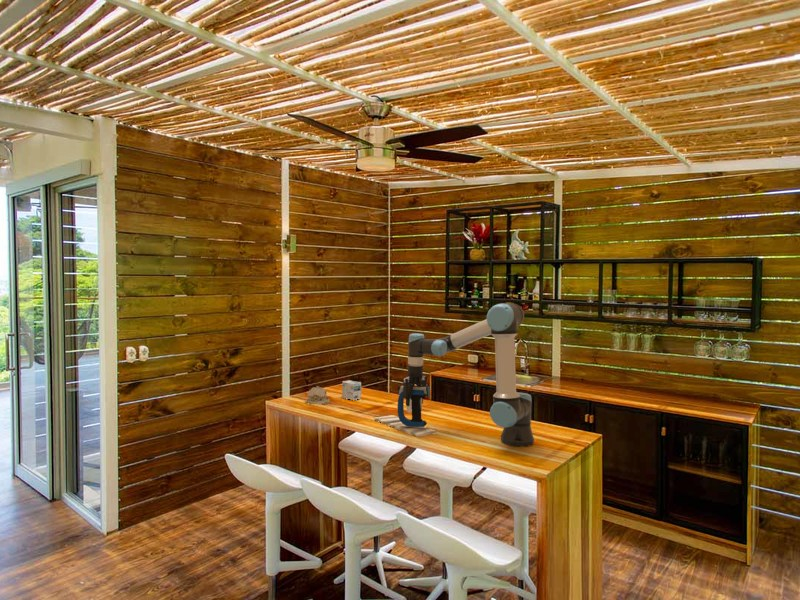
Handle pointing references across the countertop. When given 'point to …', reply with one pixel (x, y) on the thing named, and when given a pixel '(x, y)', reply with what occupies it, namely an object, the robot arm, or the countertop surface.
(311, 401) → the ceramic model
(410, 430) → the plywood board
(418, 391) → the handheld scanner
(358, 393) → the light bulb box
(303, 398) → the countertop surface
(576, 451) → the countertop surface
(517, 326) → the robot arm
